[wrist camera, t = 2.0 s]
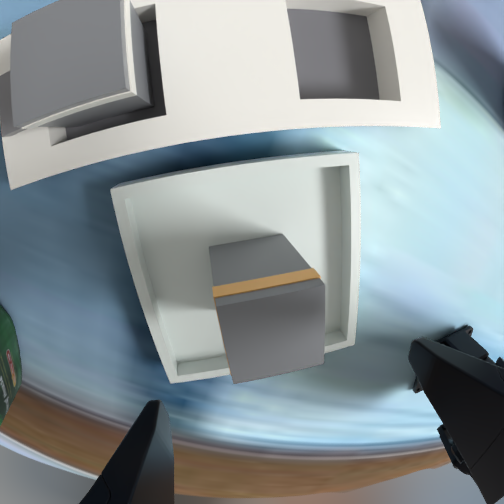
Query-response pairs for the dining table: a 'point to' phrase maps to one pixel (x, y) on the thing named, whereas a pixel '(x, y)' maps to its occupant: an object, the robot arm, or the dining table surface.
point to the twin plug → (78, 64)
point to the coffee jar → (8, 363)
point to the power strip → (248, 78)
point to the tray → (233, 230)
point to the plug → (267, 307)
